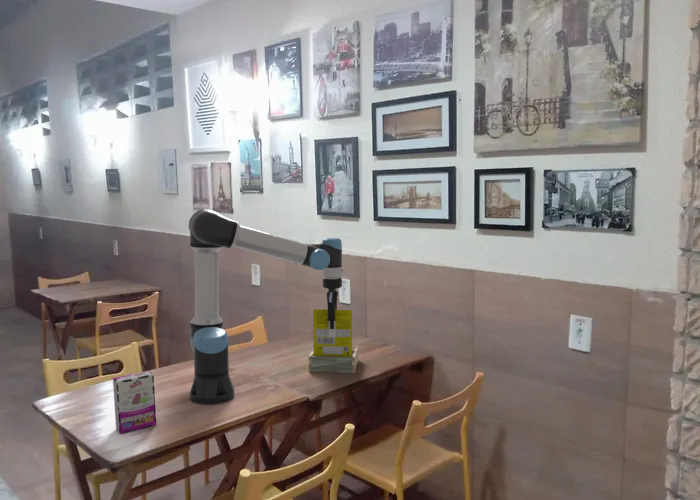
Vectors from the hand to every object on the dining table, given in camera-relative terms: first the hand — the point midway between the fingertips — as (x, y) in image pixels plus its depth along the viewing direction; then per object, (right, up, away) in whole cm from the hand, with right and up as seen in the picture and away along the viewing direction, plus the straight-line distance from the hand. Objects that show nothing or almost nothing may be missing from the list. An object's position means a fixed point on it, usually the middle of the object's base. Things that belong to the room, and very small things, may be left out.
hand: (332, 336), depth 233 cm
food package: (0, -10, +1) cm, 10 cm away
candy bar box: (-59, -21, -52) cm, 81 cm away
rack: (0, -13, +7) cm, 15 cm away
